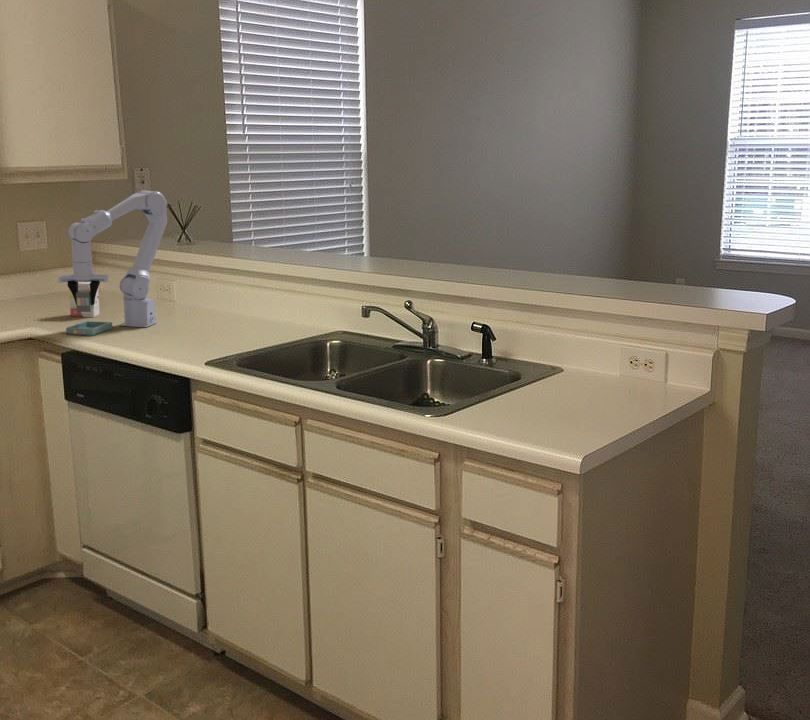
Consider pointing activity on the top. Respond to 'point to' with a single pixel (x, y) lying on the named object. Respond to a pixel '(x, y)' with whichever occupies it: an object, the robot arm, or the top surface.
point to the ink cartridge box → (73, 305)
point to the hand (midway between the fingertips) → (85, 304)
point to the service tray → (89, 328)
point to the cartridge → (84, 300)
